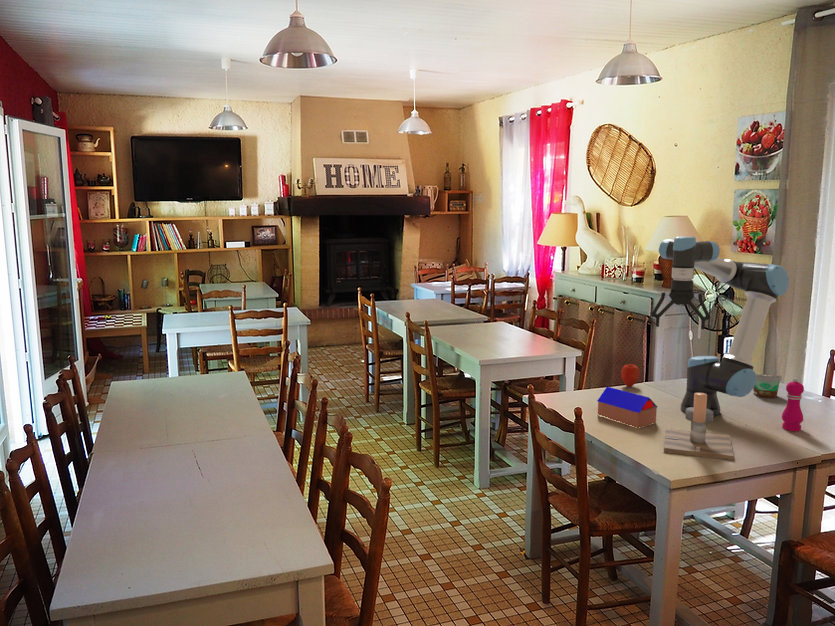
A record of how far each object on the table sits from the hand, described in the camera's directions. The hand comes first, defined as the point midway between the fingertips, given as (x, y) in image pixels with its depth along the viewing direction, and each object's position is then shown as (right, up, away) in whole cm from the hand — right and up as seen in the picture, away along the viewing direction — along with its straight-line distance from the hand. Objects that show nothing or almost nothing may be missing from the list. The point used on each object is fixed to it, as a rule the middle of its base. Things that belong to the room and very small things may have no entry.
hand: (679, 336), depth 251 cm
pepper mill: (+47, -36, +9) cm, 59 cm away
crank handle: (+2, -29, -13) cm, 32 cm away
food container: (+59, -29, +52) cm, 84 cm away
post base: (+3, -38, -8) cm, 39 cm away
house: (-13, -34, +21) cm, 43 cm away
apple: (+4, -26, +70) cm, 75 cm away
